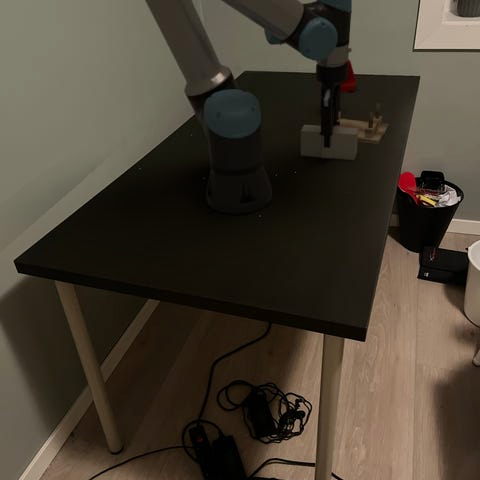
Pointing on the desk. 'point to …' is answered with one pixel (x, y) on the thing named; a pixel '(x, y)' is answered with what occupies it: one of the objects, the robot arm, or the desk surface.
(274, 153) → the desk surface
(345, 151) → the grey rectangular block
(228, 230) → the desk surface
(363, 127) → the rack
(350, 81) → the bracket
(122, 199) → the desk surface
